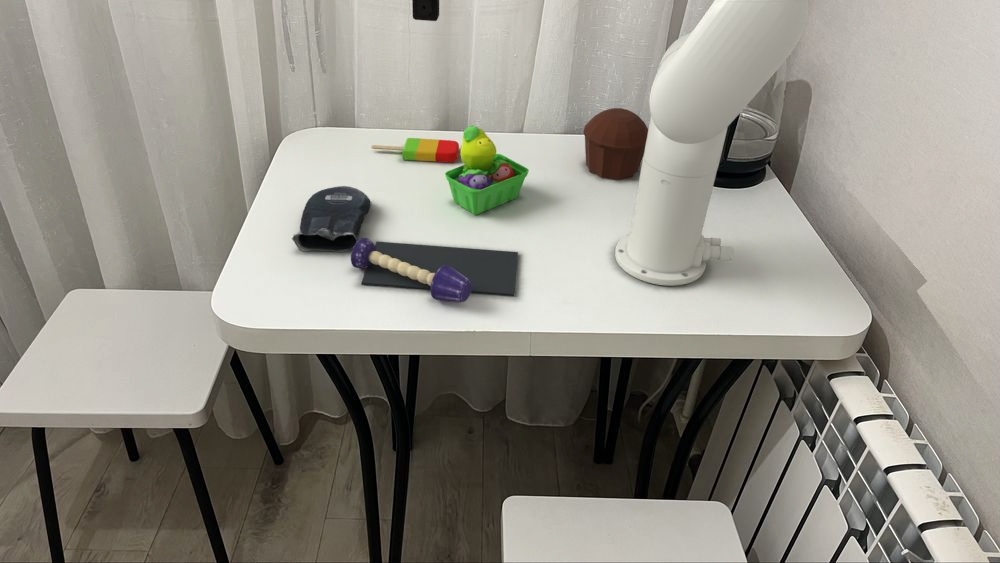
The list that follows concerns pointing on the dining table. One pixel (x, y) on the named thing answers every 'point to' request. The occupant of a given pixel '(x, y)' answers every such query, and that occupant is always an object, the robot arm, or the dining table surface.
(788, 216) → the dining table surface
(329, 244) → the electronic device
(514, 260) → the mat
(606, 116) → the muffin
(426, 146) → the popsicle
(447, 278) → the toy lamp
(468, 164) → the fruit basket
